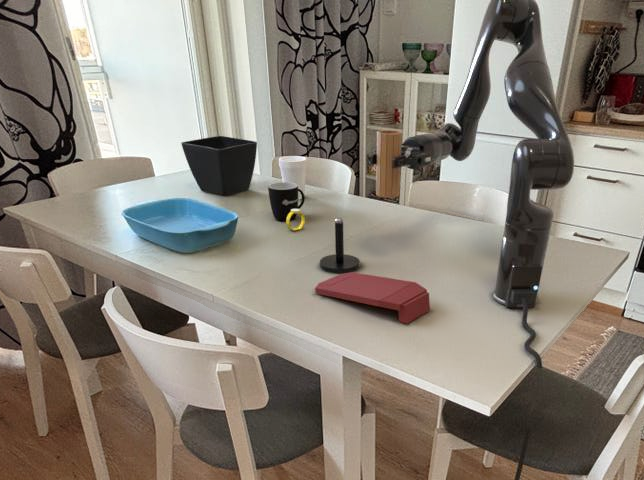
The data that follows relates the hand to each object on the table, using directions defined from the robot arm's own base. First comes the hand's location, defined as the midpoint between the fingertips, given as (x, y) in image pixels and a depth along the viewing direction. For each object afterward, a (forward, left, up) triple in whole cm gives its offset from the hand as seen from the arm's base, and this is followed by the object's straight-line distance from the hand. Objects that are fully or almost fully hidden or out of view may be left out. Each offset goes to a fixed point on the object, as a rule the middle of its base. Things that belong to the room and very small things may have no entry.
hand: (382, 161), depth 119 cm
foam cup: (+63, +26, -25) cm, 73 cm away
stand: (-1, +10, -25) cm, 27 cm away
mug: (+39, +26, -25) cm, 53 cm away
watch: (+27, +23, -25) cm, 43 cm away
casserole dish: (+21, +55, -25) cm, 63 cm away
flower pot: (+72, +52, -25) cm, 92 cm away
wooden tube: (+2, -2, -8) cm, 8 cm away
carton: (-21, +3, -25) cm, 33 cm away
